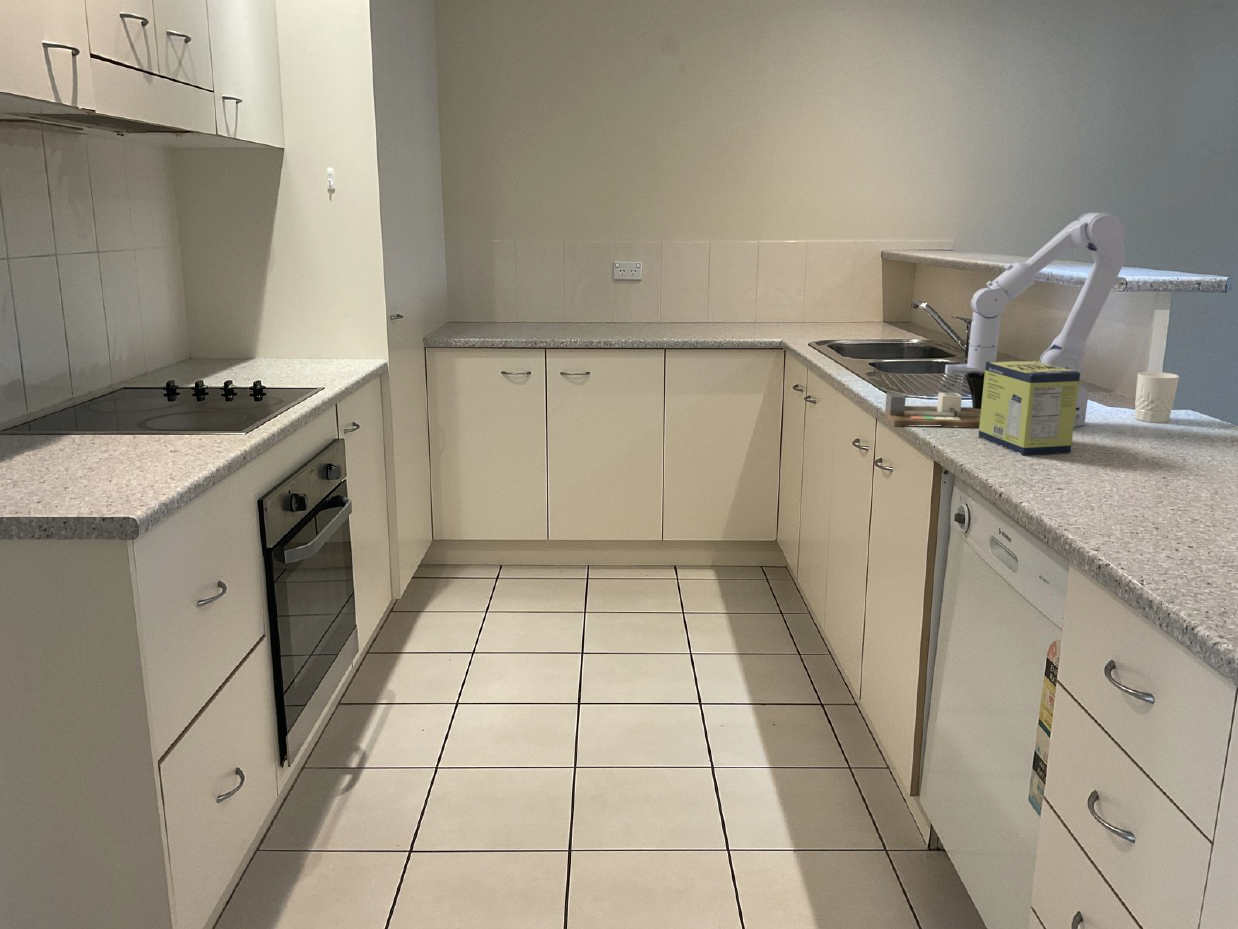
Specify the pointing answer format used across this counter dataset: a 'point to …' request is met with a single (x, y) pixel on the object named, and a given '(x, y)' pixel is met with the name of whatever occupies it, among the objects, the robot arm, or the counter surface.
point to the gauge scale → (935, 418)
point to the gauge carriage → (949, 402)
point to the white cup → (1155, 396)
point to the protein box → (1029, 406)
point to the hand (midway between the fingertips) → (976, 407)
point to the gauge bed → (933, 421)
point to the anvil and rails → (922, 408)
